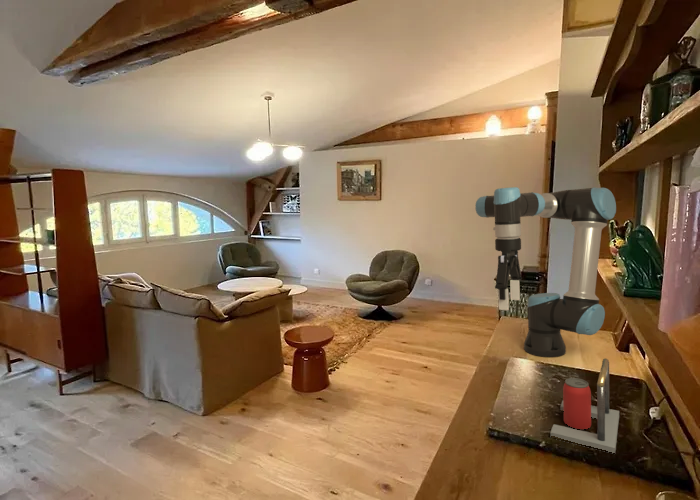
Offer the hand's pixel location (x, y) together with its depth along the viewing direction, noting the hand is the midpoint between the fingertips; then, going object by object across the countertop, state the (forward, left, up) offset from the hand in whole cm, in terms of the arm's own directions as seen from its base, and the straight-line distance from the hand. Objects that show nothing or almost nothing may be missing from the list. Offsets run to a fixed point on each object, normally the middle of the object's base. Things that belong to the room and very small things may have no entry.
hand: (509, 304), depth 129 cm
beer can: (+12, +20, -29) cm, 37 cm away
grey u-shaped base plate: (+12, +22, -29) cm, 38 cm away
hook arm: (+12, +26, -29) cm, 41 cm away
